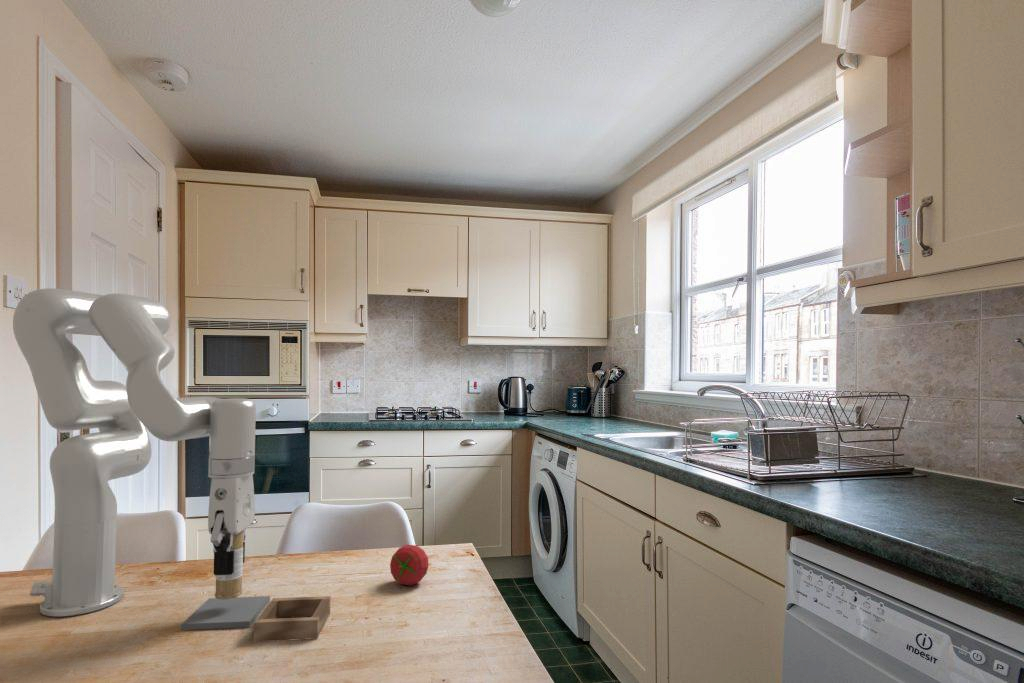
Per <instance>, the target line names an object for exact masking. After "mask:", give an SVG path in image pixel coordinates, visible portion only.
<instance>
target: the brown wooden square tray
mask: <svg viewBox="0 0 1024 683" xmlns="http://www.w3.org/2000/svg"><path fill="white" fill-rule="evenodd" d="M331 602H332V601H331V595H327V596H323V595H322V596H300V597H273V598H272V599H270V602H269V603H268V604H267V606H266V607H265V608H264V609H263V611H262V612H261V613H260V615H259V616H258V617H257V618H256V620H255V621H254V622H253V642H254V643H256V642H275V641H276V642H278V641H277V640H279V641H292V640H291V639H301V640H309V639H308V638H317V639H319V636H320V635H321V633H320V632H322V630H323V629H324V627H325V625H326V622H327V621H328V619H329V616H330V615H331ZM306 616H307V617H306ZM308 616H312V617H308ZM283 617H284V618H283ZM285 617H286V618H285ZM287 617H291V618H287ZM319 634H320V635H319ZM306 638H307V639H306ZM289 639H290V640H289ZM255 641H256V642H255Z"/></svg>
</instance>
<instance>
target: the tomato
mask: <svg viewBox="0 0 1024 683" xmlns="http://www.w3.org/2000/svg"><path fill="white" fill-rule="evenodd" d="M389 564H390V565H389V567H390V574H391V575H392V578H393V579H394V580H395V581H396V582H397V583H399V584H400V585H403V586H410V585H411V586H414V585H416V584H418V583H419V582H421V581H422V580H423V578H425V576H426V575H427V573H428V569H429V567H430V564H429V557H428V555H427V553H426V552H425V550H424V549H423V548H421V547H419V546H418V545H416V544H415V545H414V544H406V545H403V546H401V547H399V548H398V549H397V550H396V551H395V552H394V553H393V555H392V557H391V560H390V563H389Z"/></svg>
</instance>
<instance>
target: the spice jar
mask: <svg viewBox="0 0 1024 683" xmlns="http://www.w3.org/2000/svg"><path fill="white" fill-rule="evenodd" d="M243 532H244V530H243V531H241V532H240V533H238V534H236V535H234V536H233V546H232V551H234V572H233V573H232V574H231V575H215V592H214V598H217V599H220V600H225V599H231V598H235V597H239V596H240V595H242V594H243V588H242V586H243V584H242V583H243V571H244V570H243V569H244V568H243V567H244V563H243V542H244V541H243ZM222 533H229V532H228V530H223V532H222ZM223 539H226V541H228V537H223Z"/></svg>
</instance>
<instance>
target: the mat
mask: <svg viewBox="0 0 1024 683" xmlns="http://www.w3.org/2000/svg"><path fill="white" fill-rule="evenodd" d="M270 602H271V595H266V596H265V595H264V596H240V597H239V596H238V597H235V598H231V599H225V600H220V599H217V598H215V597H212V598H210V597H209V598H208V599H207V600H206V601H204V602H203V604H201V605H200V606H199V607H198V608H197V609H195V611H194V612H193V613H191V614H190V616H189V617H188V618H187V619H185V620H184V621H183V622H182V623H181V628H180V630H181V631H191V630H192V631H193V630H194V631H195V630H213V629H214V630H215V629H217V630H218V629H220V630H221V629H239V628H241V629H242V628H250V627H251V626H252V625H253V624H254V622H255V621H256V620H257V618H258V617H259V616H260V615H259V614H261V613H262V612H263V611H264V609H265V608H266V607H267V606H268V604H269V603H270ZM255 619H256V620H255Z"/></svg>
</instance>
